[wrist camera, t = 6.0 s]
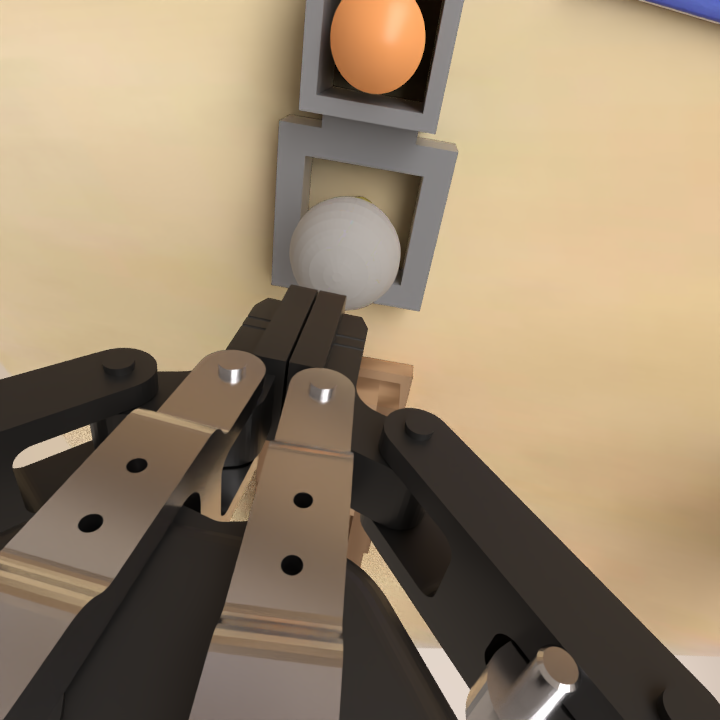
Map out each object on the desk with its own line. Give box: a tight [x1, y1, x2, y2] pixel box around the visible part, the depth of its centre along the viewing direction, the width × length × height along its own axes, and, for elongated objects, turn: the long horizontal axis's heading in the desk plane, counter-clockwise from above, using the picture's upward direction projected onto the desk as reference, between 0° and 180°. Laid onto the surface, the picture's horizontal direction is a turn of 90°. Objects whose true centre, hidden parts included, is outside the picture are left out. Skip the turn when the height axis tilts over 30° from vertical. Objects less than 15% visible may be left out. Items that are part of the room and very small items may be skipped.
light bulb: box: [289, 197, 401, 310], centre depth 26 cm, size 6×6×10 cm
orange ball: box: [330, 0, 425, 94], centre depth 22 cm, size 4×4×4 cm
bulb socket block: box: [271, 0, 464, 311], centre depth 26 cm, size 10×17×5 cm, turn 172°
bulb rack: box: [256, 357, 413, 567], centre depth 40 cm, size 11×21×4 cm, turn 172°
